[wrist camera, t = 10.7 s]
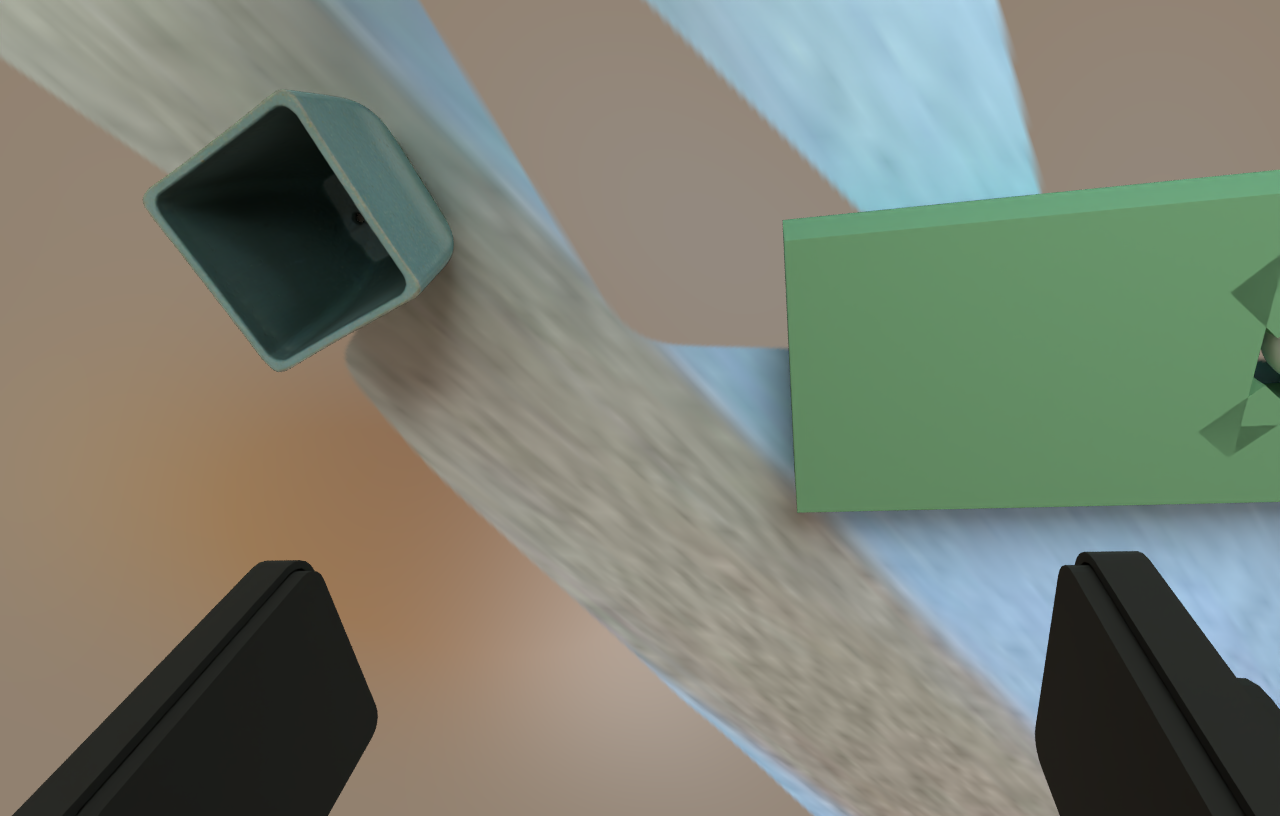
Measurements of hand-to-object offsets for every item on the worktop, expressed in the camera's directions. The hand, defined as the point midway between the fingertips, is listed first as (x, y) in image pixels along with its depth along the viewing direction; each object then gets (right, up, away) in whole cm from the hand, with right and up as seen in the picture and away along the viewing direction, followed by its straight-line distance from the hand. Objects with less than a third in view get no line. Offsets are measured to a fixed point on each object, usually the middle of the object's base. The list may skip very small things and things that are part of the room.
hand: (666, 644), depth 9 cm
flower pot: (-13, +14, +28) cm, 34 cm away
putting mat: (+21, +6, +25) cm, 33 cm away
